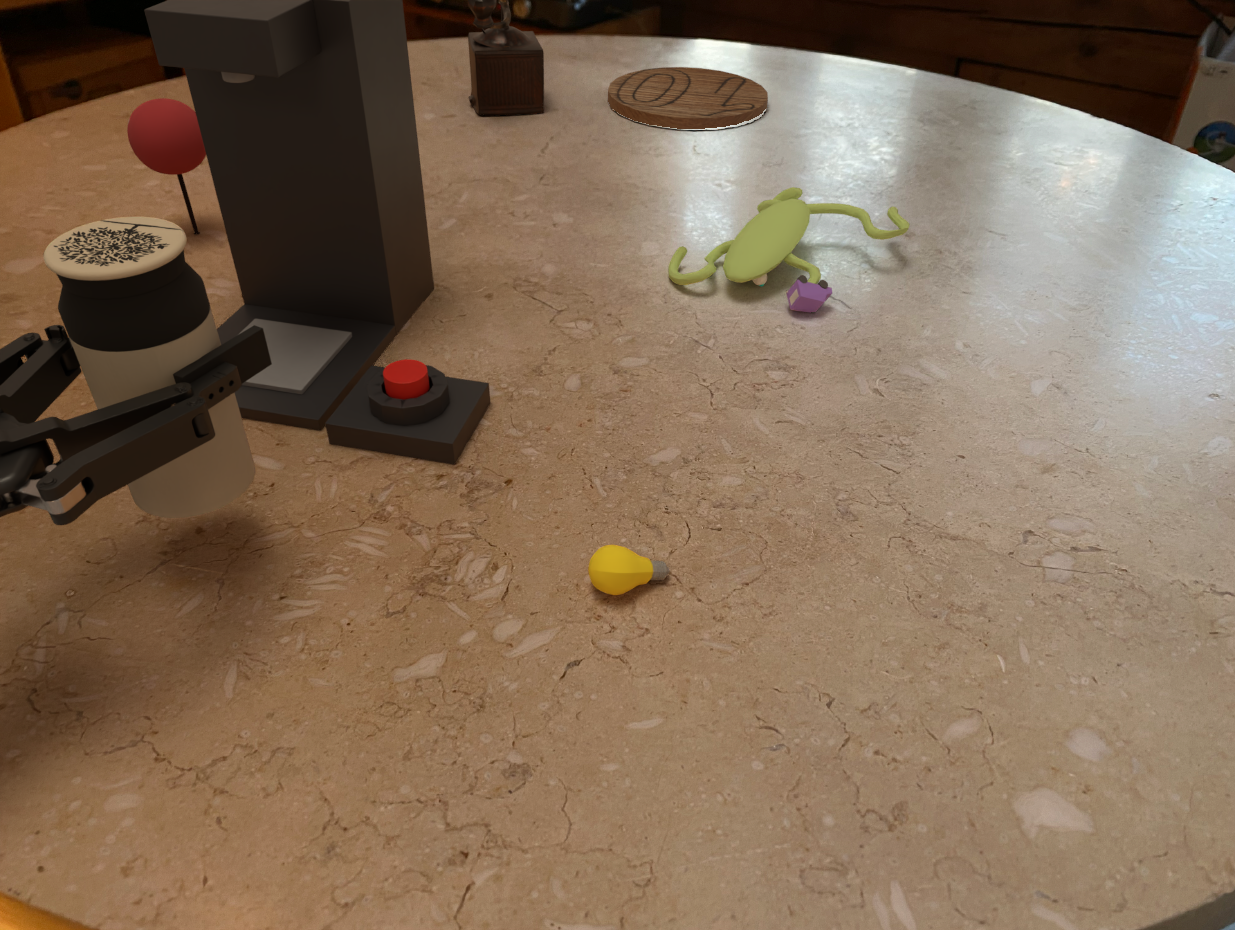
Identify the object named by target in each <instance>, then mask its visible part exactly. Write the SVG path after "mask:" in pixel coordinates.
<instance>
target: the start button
mask: <svg viewBox="0 0 1235 930" xmlns="http://www.w3.org/2000/svg"><path fill="white" fill-rule="evenodd" d="M426 365H427V364H426V363H424V362H422V361H420V360H417V359H409V358H408V359H407V358H406V359H399V360H396V361H393V362H390V363H389V364H387V365H386V366H384V367H385V369H384V371H383V377H384V384H385V390H386V393H387V395H388V396H389V397H391V398H397V399H403V400H404V399H411V398H417V397H419V396H421V395H423V394H425V393H427V392H428V390H429V378H428V370H427V367H426Z"/></svg>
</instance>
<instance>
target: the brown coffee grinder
mask: <svg viewBox="0 0 1235 930" xmlns="http://www.w3.org/2000/svg"><path fill="white" fill-rule="evenodd" d="M466 3H467V6H468V8H469V9H470V11H471V12H472V14H473V15H474V18H473V19H474V20H473V21H472V24H473V26H475V27H476V29H481V31H475V32H473V31H471V32H468V35H467V40H468V41H467V42H468V54H469V55H468V57H469V59H468V60H469V72H470V85H471V86H470V87H471V88H470V89H471V91H470V95H469V96H468V102H469V103H470V104H471V106H472V107H473V109H474V112H475V113H476V114H478V115H479V116H483V115H485V116H486V117H487V116H488V117H495V116H494V115H498V116H497V117H501V116H500V115H506V116H516V115H515V114H529V115H538V114H537V113H540V114H544V112H545V107H544V106H545V105H544V103H545V55H544V54H545V52H544V49H543V47H542V45H541V44H540V42H539V41H540V40H539V39H538V38H537V37H536V34H535V32H534V31H533V30H530V31H529V30H520V29H518V28H517V27H514V26H510V23H511V21H512V15H511V14H512V13H511V9H510V5H509V4H510V2H509V0H498V4H499V5H500V21H498V22H494V20H493V18H492V13H493V12H494V10H495V8H496V7H497V0H467V2H466ZM485 116H484V117H485Z"/></svg>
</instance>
